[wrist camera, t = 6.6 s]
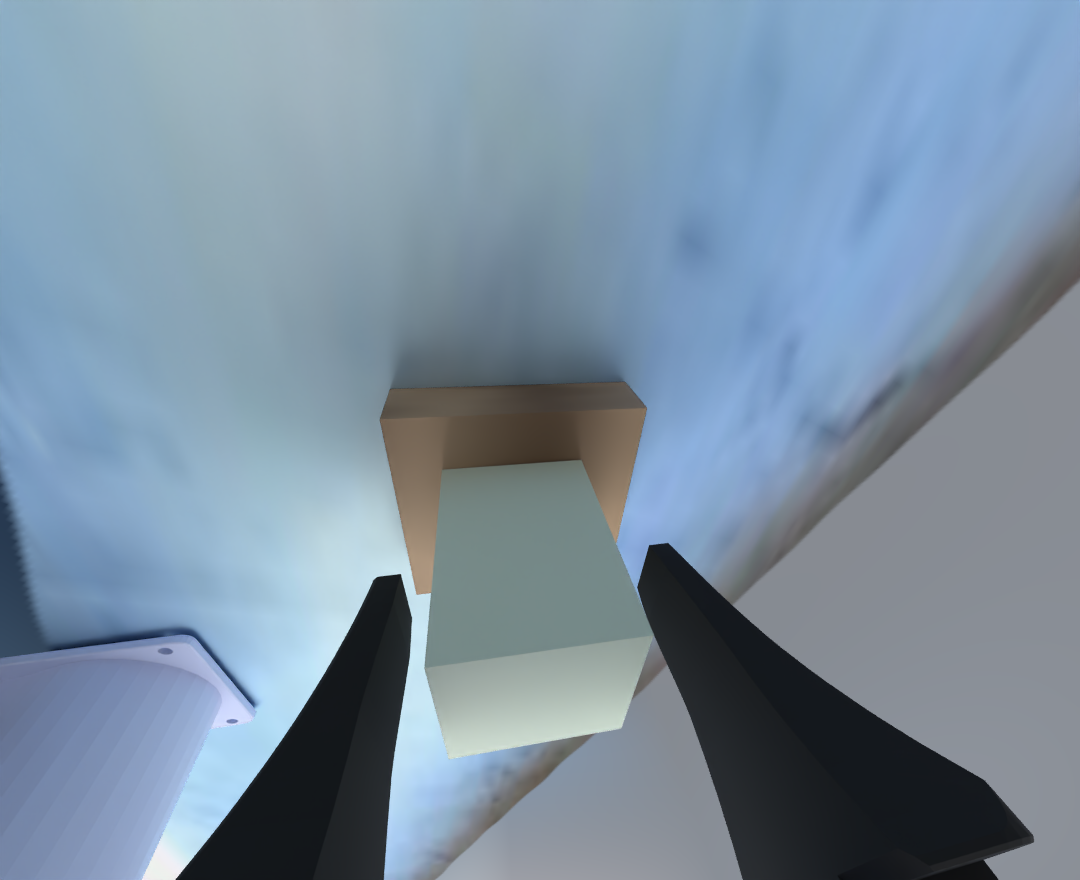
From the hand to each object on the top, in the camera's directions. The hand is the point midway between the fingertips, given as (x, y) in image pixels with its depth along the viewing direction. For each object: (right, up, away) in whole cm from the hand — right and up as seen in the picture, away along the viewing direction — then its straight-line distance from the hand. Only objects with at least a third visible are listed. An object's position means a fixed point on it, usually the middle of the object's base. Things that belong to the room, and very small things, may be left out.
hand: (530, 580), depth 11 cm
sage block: (-1, +1, +2) cm, 3 cm away
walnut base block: (-1, +3, +4) cm, 5 cm away
